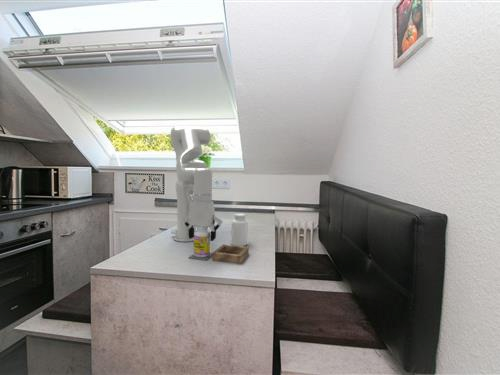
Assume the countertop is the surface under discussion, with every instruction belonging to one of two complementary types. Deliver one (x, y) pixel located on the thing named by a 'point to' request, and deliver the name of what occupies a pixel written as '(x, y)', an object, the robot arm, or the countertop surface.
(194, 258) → the mat
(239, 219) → the pill bottle
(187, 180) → the robot arm
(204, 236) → the supplement bottle
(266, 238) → the countertop surface
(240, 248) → the block
